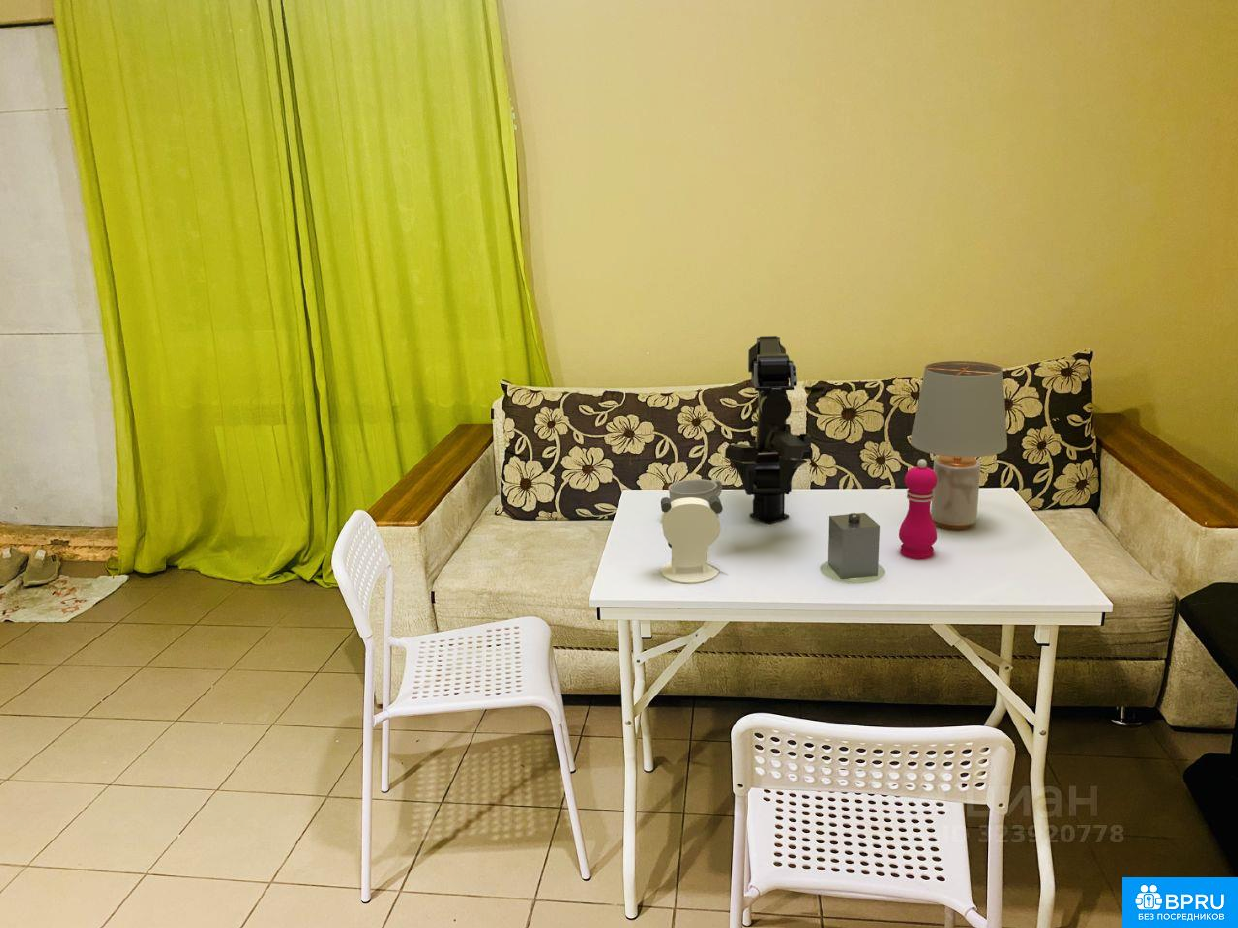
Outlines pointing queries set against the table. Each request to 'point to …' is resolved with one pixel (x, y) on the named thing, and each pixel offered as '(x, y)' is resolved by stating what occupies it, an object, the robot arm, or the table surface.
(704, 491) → the teacup
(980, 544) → the table surface
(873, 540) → the cover
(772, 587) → the table surface
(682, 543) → the panda figurine
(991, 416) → the lamp
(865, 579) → the plate
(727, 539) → the table surface
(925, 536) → the pepper mill
